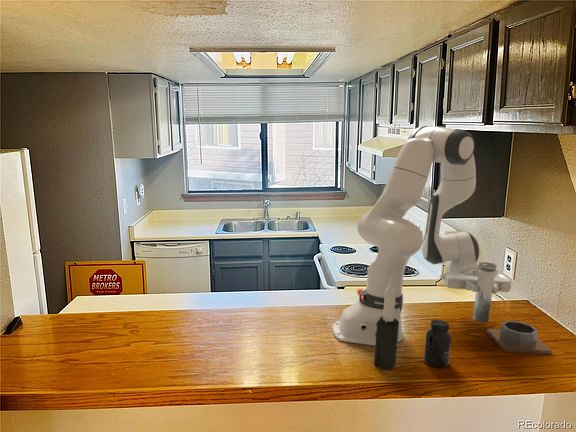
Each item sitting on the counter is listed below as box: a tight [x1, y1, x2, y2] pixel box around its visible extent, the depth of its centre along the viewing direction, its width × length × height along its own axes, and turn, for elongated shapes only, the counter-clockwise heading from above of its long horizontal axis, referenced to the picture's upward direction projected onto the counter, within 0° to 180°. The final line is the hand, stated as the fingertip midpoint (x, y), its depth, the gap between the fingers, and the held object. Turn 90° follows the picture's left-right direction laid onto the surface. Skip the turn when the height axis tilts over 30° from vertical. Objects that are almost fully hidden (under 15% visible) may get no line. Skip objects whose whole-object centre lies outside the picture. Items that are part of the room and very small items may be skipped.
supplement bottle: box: [423, 319, 452, 369], centre depth 128 cm, size 7×7×12 cm
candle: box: [373, 279, 399, 371], centre depth 124 cm, size 5×5×25 cm
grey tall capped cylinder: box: [472, 261, 497, 324], centre depth 141 cm, size 5×5×18 cm
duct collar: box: [486, 320, 553, 355], centre depth 143 cm, size 14×14×5 cm
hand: (485, 290), depth 140 cm, fingers closed on grey tall capped cylinder, 5 cm apart
